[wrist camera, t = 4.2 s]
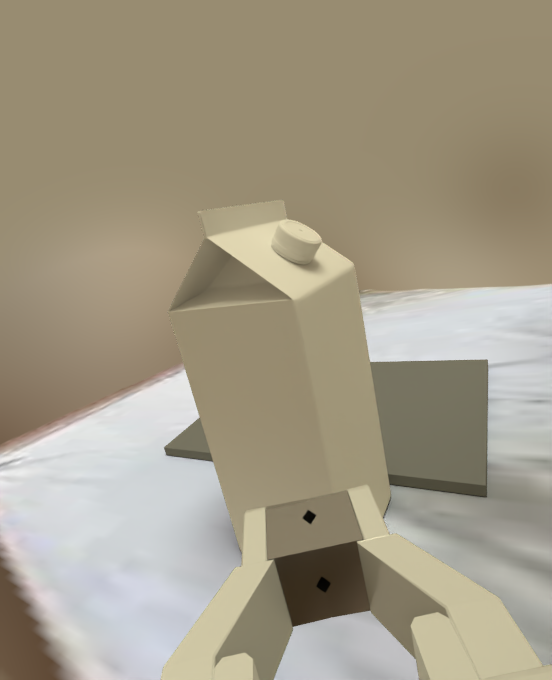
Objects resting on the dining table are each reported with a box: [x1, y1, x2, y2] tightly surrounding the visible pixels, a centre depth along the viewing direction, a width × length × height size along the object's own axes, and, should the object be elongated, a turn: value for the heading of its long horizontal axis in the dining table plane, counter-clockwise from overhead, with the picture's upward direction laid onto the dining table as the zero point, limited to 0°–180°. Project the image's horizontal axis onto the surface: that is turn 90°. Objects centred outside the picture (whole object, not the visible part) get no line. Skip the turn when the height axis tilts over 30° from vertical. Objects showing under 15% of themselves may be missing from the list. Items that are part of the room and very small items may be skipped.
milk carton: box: [168, 200, 391, 552], centre depth 21 cm, size 7×7×19 cm
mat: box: [164, 360, 488, 497], centre depth 37 cm, size 19×26×1 cm
